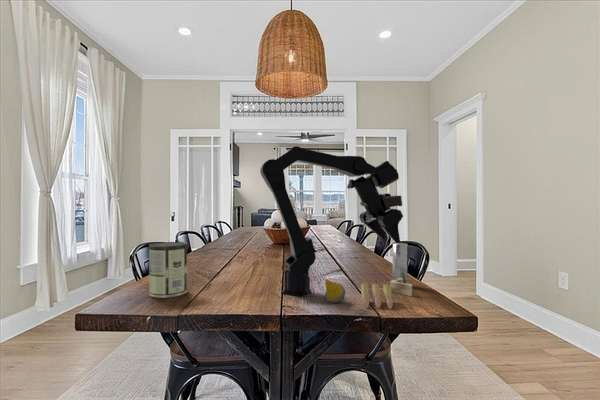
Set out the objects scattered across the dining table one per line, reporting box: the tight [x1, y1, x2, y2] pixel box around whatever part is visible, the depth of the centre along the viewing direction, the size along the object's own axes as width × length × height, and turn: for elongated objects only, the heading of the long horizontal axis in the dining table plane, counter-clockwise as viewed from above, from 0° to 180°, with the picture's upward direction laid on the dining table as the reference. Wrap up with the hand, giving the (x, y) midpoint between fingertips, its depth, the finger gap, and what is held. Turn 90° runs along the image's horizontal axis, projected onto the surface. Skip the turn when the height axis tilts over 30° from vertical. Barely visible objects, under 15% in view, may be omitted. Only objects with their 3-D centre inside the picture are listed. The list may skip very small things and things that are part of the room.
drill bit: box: [324, 278, 346, 304], centre depth 94 cm, size 5×5×10 cm
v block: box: [389, 278, 413, 297], centre depth 105 cm, size 5×9×3 cm, turn 3°
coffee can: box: [148, 241, 188, 299], centre depth 102 cm, size 10×10×14 cm
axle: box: [392, 242, 408, 284], centre depth 114 cm, size 4×4×13 cm
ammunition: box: [360, 283, 394, 310], centre depth 93 cm, size 5×7×8 cm
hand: (391, 240), depth 110 cm, fingers open, 9 cm apart
